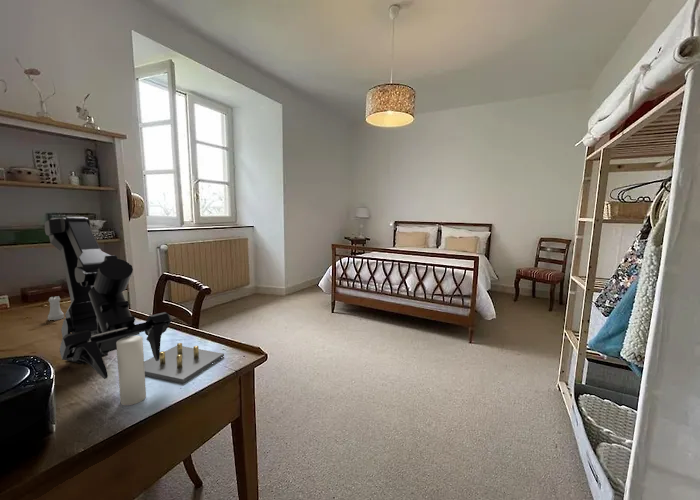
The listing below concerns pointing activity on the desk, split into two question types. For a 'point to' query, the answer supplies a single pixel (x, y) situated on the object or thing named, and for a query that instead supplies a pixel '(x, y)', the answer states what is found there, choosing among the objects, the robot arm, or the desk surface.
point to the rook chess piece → (55, 309)
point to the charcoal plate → (180, 363)
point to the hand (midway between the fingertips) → (133, 368)
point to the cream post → (131, 370)
